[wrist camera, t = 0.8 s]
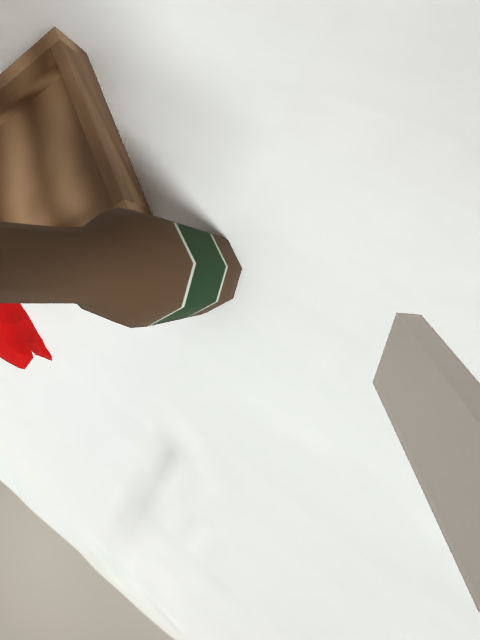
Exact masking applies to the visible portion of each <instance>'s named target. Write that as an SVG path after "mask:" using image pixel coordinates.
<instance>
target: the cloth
mask: <svg viewBox="0 0 480 640" xmlns="http://www.w3.org/2000/svg"><path fill="white" fill-rule="evenodd" d="M31 350H32V351H31ZM32 352H33V353H34V354H35V355H39V356H41V357H44V358H46V359H49V360H51V361H52V356H51V355H50V353H49V351H48V350H47V349H46V347H45V345H44V343H43V340H42V339H41V337H40V336H39V334H38V332H37V330H36V329H35V327H34V325H33V323H32V322H31V320H30V318H29V316H28V315H27V313H26V311H25V310H24V309H23V307H22V306H21V304H20V303H0V357H1V358H2V359H4V360H5V361H7V362H9V363H11V364H13V365H15V366H17V367H18V368H21V369H25V368H26V367H27V365H28V364H29V363H30V361H31V360H32V358H33V355H32Z"/></svg>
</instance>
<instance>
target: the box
mask: <svg viewBox="0 0 480 640" xmlns="http://www.w3.org/2000/svg"><path fill="white" fill-rule="evenodd" d="M117 207H119V208H125V209H130V210H135V211H139V212H142V213H145V214H149V215H152V214H151V212H150V209H149V207H148V204H147V202H146V199H145V197H144V195H143V192H142V190H141V187H140V185H139V182H138V180H137V177H136V175H135V172H134V170H133V167H132V165H131V162H130V160H129V157H128V155H127V152H126V150H125V148H124V145H123V143H122V140H121V138H120V135H119V133H118V130H117V128H116V125H115V123H114V120H113V118H112V115H111V113H110V110H109V108H108V105H107V103H106V101H105V98H104V96H103V93H102V91H101V88H100V86H99V83H98V81H97V78H96V76H95V73H94V71H93V68H92V66H91V63H90V61H89V58H88V56H87V54H86V52H84V51H83V50H82V49H81V48H80V47H78V46H77V45H76V44H75V43H74V42H72V41H71V40H70V39H69V38H68V37H66V36H65V35H64V34H63V33H62V32H60V31H59V30H58V29H57V28H56V27H54V28H53V29H52V30H50V31H49V32H48V33H47V34H46V35H45V36H44V37H42V38H41V39H40V40H39V41H38V42H37V43H36V44H34V45H33V46H32V47H31V48H30V49H29V50H28V51H27V52H25V53H24V54H23V55H22V56H21V57H20V58H19V59H17V60H16V61H15V62H14V63H13V64H12V65H11V66H9V67H8V68H7V69H6V70H5V71H4V72H3V73H2V74H0V221H1V222H11V223H22V224H32V225H43V226H53V227H80V226H83V225H85V224H86V223H88V222H89V221H90V220H92V219H93V218H94V217H96V216H97V215H99V214H100V213H101V212H104V211H107V210H110V209H114V208H117Z"/></svg>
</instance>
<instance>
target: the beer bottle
mask: <svg viewBox="0 0 480 640" xmlns="http://www.w3.org/2000/svg"><path fill="white" fill-rule="evenodd" d="M241 270H242V267H241V265H240V263H239V261H238V259H237V257H236V255H235V253H234V251H233V249H232V247H231V245H230V243H229V241H228V240H227V239H225V238H223V237H220V236H217V235H213V234H210V233H207V232H204V231H201V230H197V229H194V228H191V227H188V226H184V225H181V224H178V223H175V222H172V221H168V220H165V219H162V218H158V217H155V216H152V215H149V214H145V213H142V212H139V211H135V210H130V209H125V208H119V207H117V208H114V209H110V210H107V211H104V212H101V213H100V214H99V215H97V216H96V217H94V218H93V219H92V220H90V221H89V222H88V223H86V224H85V225H83V226H80V227H53V226H43V225H32V224H22V223H11V222H1V221H0V303H74V304H78V305H79V306H80V307H81V308H82V309H84V310H86V311H89V312H91V313H94V314H96V315H99V316H101V317H104V318H106V319H109V320H111V321H113V322H116V323H119V324H122V325H124V326H127V327H130V328H135V327H147V326H151V325H156V324H160V323H165V322H169V321H174V320H178V319H183V318H187V317H192V316H196V315H201V314H203V313H206V312H208V311H210V310H212V309H214V308H216V307H218V306H220V305H221V304H223V303H225V302H227V301H229V300H231V299H233V297H234V293H235V290H236V287H237V283H238V280H239V276H240V273H241Z"/></svg>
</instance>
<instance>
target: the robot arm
mask: <svg viewBox="0 0 480 640" xmlns="http://www.w3.org/2000/svg"><path fill="white" fill-rule="evenodd" d="M373 384H374V386H375V388H376V391H377V393H378V395H379V397H380V399H381V401H382V404H383V406H384V408H385V410H386V412H387V414H388V417H389V419H390V421H391V423H392V425H393V427H394V430H395V432H396V434H397V436H398V438H399V440H400V443H401V445H402V447H403V449H404V451H405V453H406V456H407V458H408V460H409V462H410V464H411V466H412V469H413V471H414V473H415V475H416V477H417V479H418V482H419V484H420V486H421V488H422V490H423V492H424V495H425V497H426V499H427V501H428V503H429V505H430V508H431V510H432V512H433V514H434V516H435V518H436V521H437V523H438V525H439V527H440V529H441V531H442V534H443V536H444V538H445V540H446V542H447V544H448V547H449V549H450V551H451V553H452V555H453V557H454V560H455V562H456V564H457V566H458V568H459V570H460V573H461V575H462V577H463V579H464V581H465V583H466V586H467V588H468V590H469V592H470V594H471V596H472V599H473V601H474V603H475V605H476V607H477V609H478V611H479V613H480V383H479V382H478V381H477V380H476V378H475V377H474V376H473V375H472V374H471V373H470V371H469V370H468V369H467V368H466V367H465V366H464V364H463V363H462V362H461V361H460V360H459V359H458V357H457V356H456V355H455V354H454V353H453V352H452V350H451V349H450V348H449V347H448V346H447V344H446V343H445V342H444V341H443V340H442V339H441V337H440V336H439V335H438V334H437V333H436V332H435V330H434V329H433V328H432V327H431V326H430V325H429V323H428V322H427V321H426V320H425V319H424V318H423V316H422V315H418V314H406V313H396V316H395V319H394V322H393V325H392V328H391V331H390V334H389V336H388V339H387V342H386V345H385V348H384V351H383V354H382V357H381V360H380V363H379V366H378V369H377V372H376V374H375V377H374V380H373Z"/></svg>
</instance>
